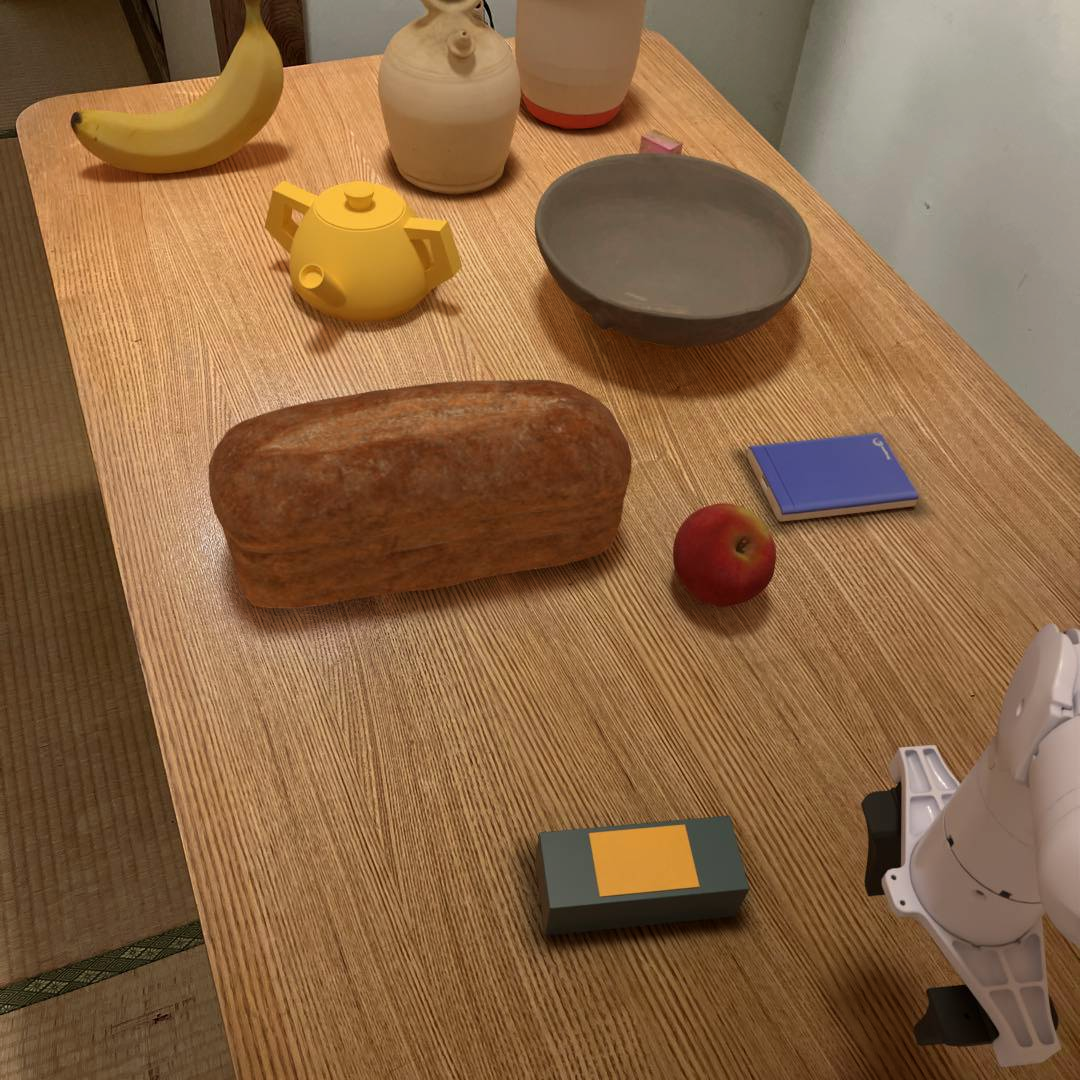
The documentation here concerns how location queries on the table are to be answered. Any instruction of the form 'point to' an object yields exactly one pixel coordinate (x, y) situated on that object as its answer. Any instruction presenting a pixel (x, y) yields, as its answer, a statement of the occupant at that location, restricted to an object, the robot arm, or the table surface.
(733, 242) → the bowl
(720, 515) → the apple
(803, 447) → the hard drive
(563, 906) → the packet
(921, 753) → the robot arm
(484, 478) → the bread
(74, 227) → the table surface
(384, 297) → the teapot
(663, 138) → the perfume bottle
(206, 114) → the banana
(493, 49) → the jug
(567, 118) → the citrus juicer
